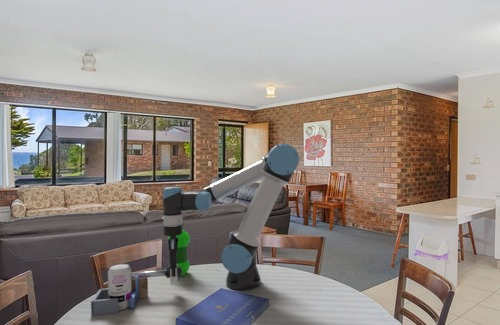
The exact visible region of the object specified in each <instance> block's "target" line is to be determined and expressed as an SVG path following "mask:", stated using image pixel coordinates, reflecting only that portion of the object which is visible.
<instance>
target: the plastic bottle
mask: <svg viewBox="0 0 500 325" xmlns="http://www.w3.org/2000/svg"><path fill="white" fill-rule="evenodd" d="M181 225H182V227H183V226H184V222H183V221H182V224H181ZM167 237H168V238H167V240H168V239H170V236H167ZM176 237H177V238H178V250H177V258H178V260H177V261H179V263H177V266H178V267H182V276H184V274H186V273H188V271H189V269H190V265H191V264H190V261H189V259H188V245H189V244H190V241H191V237H190V234H189V233H188V232H187V231H185V230H184V229H183V228H182V234H181V235H176ZM167 244H168V243H167ZM168 246H169V244H168ZM168 267H170V264H169V266H168Z"/></svg>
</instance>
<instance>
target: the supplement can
mask: <svg viewBox="0 0 500 325" xmlns="http://www.w3.org/2000/svg"><path fill="white" fill-rule="evenodd" d="M131 272H132V268H131V267H130V265H129V264H128V263H119V264H114V265H112V266H110V267H109V269H108V271H107V288H108V299H113V298H118V311H121V310H125V309H127V308H130V297H131V295H132V288H131Z"/></svg>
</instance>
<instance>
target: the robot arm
mask: <svg viewBox="0 0 500 325" xmlns="http://www.w3.org/2000/svg"><path fill="white" fill-rule="evenodd" d="M299 163H300V155H299V152H298V150H297V149H296V148H295V147H294V146H293V145H291V144H288V143H278V144H277V145H274V146H273V147H272V148H271V149H270V150H269V152H268V154H266V155H264V156H262V158H261V160H259V161H257V162H254V163H253V164H251V165H249V166H247V167H245V168H242V169H240V170H238V171H236V172H234V173H232V174H230V175H228V176H226V177H224V178H221V179H219V180H218V181H216V182H214V183H212V184H209V185H208V186H206V187H203V188H201V189H198V190H196V191H183V189H182V187H180V186H168V187H164V188H163V190H162V212H163V216H162V217H161V220H163V235H164V236H166V237H169V236H170V239H168V238H167V244H169V245H168V251H169V265H170V267H169V266H168V267H167V268H168V269H170V278H169V279H170V280H169V281H170V282H169V283H170V284H169V285H178V280H179V277H177V267H178V266H177V263H179V261H177V260H178V258H177V250H178V238H177V237H176V235H181V234H182V229H183V226H182V225H181V224H182V222H183V211H201V212H202V211H209V210H210V209H211V207H212V204H213V203H215V202H217V201H219V200H221V199H224V198H225V197H228V196H231V195H232V194H234V193H236V192H238V191H240V190H242V189H244V188H246V187H248V186H250V185H254V184H255V183H257V182H259V181H260V182H259V184H258V186H257V189H256V191H255V193H254V195H253V198H252V199H251V201H250V204H249V205H248V208H247V211H246V212H245V215H244V217H243V219H242V221H241V223H240V225H239V227H238V229H236V230H234V231H230V232H229V235H228V236H229V237H228V242H227V244H226V246H225V247H224V248H223V250H222V252H221V263H222V265H223V267H224V268H225V269H226V270H227V271H228V273H227V275H226V280H225V281H226V282H225V285H226V286H227V287H228V288H230V289H231V290H237V291H238V290H239V291H246V290H247V291H248V290H253V289H256V288H258V287H260V286H261V283H262V281H261V280H262V278H261V275H260V273H259V270H258V267H257V251H258V248H259V246H260V242H259V237H260V235H261V233H262V231H263V230H264V226H265V225H266V223H267V220H268V218H269V217H270V214H271V212H272V210H273V207H274V206H275V203H276V202H277V200H278V197H279V195H280V193H281V191H282V189H283V187H284V186H285V185H287V184H289V183H290V181H291V179H292V177H293V175H294V173H295V170H297V168H298V167H299Z"/></svg>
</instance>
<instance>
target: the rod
mask: <svg viewBox="0 0 500 325" xmlns="http://www.w3.org/2000/svg"><path fill="white" fill-rule="evenodd" d="M165 268H166V269H159V270H149V271H148V270H147V271H134V272H133V271H131V279H135V284H136V290H133V292H132V295H131V297H130V306H129V309H134V308H135V307H136V304H137V301H138V300H139V299H140V298H139V278H157V277H166V279H170V269H168V267H165ZM177 277H178V278H182V277H183V275H182V267H177Z"/></svg>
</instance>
